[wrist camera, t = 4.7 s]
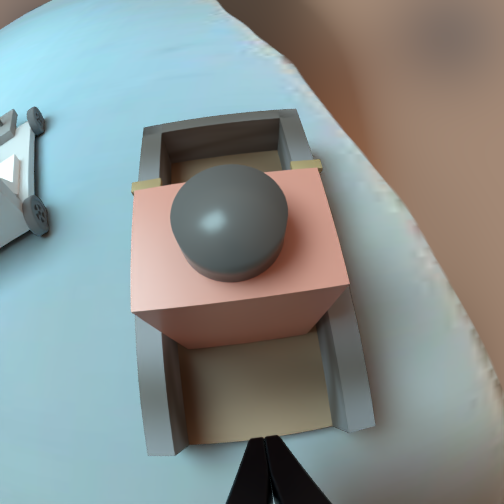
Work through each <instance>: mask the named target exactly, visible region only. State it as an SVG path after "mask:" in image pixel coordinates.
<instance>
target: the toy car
mask: <svg viewBox="0 0 504 504" xmlns="http://www.w3.org/2000/svg"><path fill="white" fill-rule="evenodd" d="M17 116H18V115H17V113H16V112H15V110H14V109H12V110H11V111H9V112H8V113H6V114H5V115H3V116H2V117H0V248H1V247H2V246H4V245H5V244H7V243H9V242H10V241H12V240H14V239H15V238H17V237H18V236H20V235H22V234H23V233H25V232H27V231H29V230H31V231H32V232H33V233H34V234H35V235H37V236H41V235H42V234H44V233H46V232H48V230H49V228H48V223H47V211H46V208H45V206H44V204H43V203H42V201H41V200H40V199H39V198H38V197H37V196H35V195H34V142H35V135H40V134H41V133H43V132H44V119H43V116H42V114H41V112H40V111H39V109H38V108H37V107H33V108H31V109H29V110H28V111H27V120H28V121H27V122H25V123H24V124H22V125H20V126H19V127H17V128H16V122H17Z"/></svg>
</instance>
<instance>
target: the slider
mask: <svg viewBox="0 0 504 504" xmlns="http://www.w3.org/2000/svg"><path fill="white" fill-rule="evenodd" d="M349 284H350V282H349V278H348V274H347V270H346V266H345V262H344V258H343V254H342V251H341V247H340V243H339V239H338V236H337V232H336V228H335V225H334V221H333V218H332V214H331V211H330V207H329V204H328V201H327V197H326V194H325V191H324V187H323V184H322V181H321V178H320V174H319V171H318V168H306V169H294V170H283V171H273V172H262V171H260V170H258V169H255V168H252V167H249V166H245V165H238V164H227V165H219V166H215V167H211V168H208V169H206V170H203V171H201V172H199V173H198V174H196V175H195V176H193V177H192V178H190V179H189V180H188V181H187V182H184V183H178V184H171V185H165V186H159V187H153V188H147V189H141V190H136V191H134V202H133V217H132V238H131V312H132V313H133V314H135V315H136V316H138V317H139V318H141V319H142V320H143V321H145V322H146V323H148V324H149V325H151V326H152V327H154V328H156V329H157V330H159V331H160V332H162V333H163V334H165V335H166V336H168V337H169V338H171V339H173V340H174V341H176V342H177V343H179V344H181V345H182V346H184V347H185V348H187V349H199V348H209V347H218V346H227V345H235V344H243V343H251V342H258V341H266V340H273V339H279V338H286V337H292V336H298V335H304V334H307V333H308V332H309V331H310V330H311V329H312V327H313V326H314V325H315V324H316V323H317V322H318V321H319V320H320V318H321V317H322V316H323V315H324V314H325V313H326V312H327V310H328V309H329V308H330V307H331V306H332V305H333V303H334V302H335V301H336V300H337V299H338V297H339V296H340V295H341V294H342V293H343V292H344V290H345V289H346V288H347V287H348V285H349Z"/></svg>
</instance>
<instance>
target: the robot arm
mask: <svg viewBox="0 0 504 504" xmlns="http://www.w3.org/2000/svg"><path fill="white" fill-rule="evenodd" d="M264 440H265V441H264ZM265 447H266V448H265ZM270 480H271V481H270ZM271 487H272V488H271ZM272 493H273V495H272ZM273 498H274V502H275V504H332V503H331V502H330V501H329V500H328V498H327V497H326V496H325V495H324V493H323V492H322V491H321V490H320V488H319V487H318V486H317V485H316V483H315V482H314V481H313V480H312V478H311V477H310V476H309V475H308V473H307V472H306V471H305V469H304V468H303V467H302V466H301V464H300V463H299V462H298V460H297V459H296V458H295V456H294V455H293V454H292V452H291V451H290V450H289V448H288V447H287V446H286V444H285V443H284V442H283V440H282V439H281V438H280V436H278V435H271V436H266V437H265V438H263V437H257V438H251V439H250V440H249V441H248V444H247V447H246V450H245V453H244V455H243V458H242V461H241V464H240V467H239V469H238V472H237V475H236V478H235V480H234V483H233V486H232V488H231V491H230V494H229V496H228V499H227V501H226V504H273Z"/></svg>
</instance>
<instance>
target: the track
mask: <svg viewBox="0 0 504 504" xmlns="http://www.w3.org/2000/svg"><path fill="white" fill-rule="evenodd" d="M227 164H238V165H245V166H249V167H252V168H255V169H258V170H260V171H262V172H273V171H283V170H294V169H306V168H318V171H319V173H321V172H322V165H321V162H320V159H316V160H314V159H313V156H312V153H311V150H310V147H309V144H308V141H307V138H306V135H305V132H304V130H303V127H302V124H301V121H300V118H299V115H298V113H297V110H296V109H283V110H269V111H256V112H246V113H236V114H227V115H219V116H211V117H204V118H197V119H190V120H184V121H178V122H172V123H166V124H160V125H155V126H150V127H145V128H144V130H143V138H142V147H141V156H140V167H139V178H138V182H134V183H132V190H131V192H132V194H133V196H134V191H136V190H141V189H147V188H153V187H159V186H165V185H171V184H178V183H184V182H187V181H188V180H189V179H190V178H192V177H193V176H195V175H196V174H198V173H199V172H201V171H203V170H206V169H208V168H211V167H215V166H219V165H227ZM135 333H136V352H137V366H138V379H139V390H140V400H141V409H142V417H143V425H144V433H145V440H146V447H147V453H148V456H176V455H177V454H178V453H180V452H181V451H182V450H183V449H185V448H186V447H187V446H188V445H196V444H213V443H226V442H236V441H246V440H250V439H251V438H257V437H263V438H265V437H266V436H271V435H278V436H283V435H289V434H294V433H300V432H305V431H311V430H316V429H320V428H325V427H330V426H334V427H336V428H338V429H341V430H343V431H345V432H348V433H351V432H355V431H359V430H362V429H366V428H370V427H373V426H375V420H374V413H373V406H372V400H371V393H370V387H369V381H368V376H367V370H366V365H365V359H364V354H363V349H362V344H361V339H360V334H359V329H358V324H357V319H356V315H355V310H354V306H353V301H352V297H351V293H350V288H349V285H348V287H347V288H346V289H345V290H344V292H343V293H342V294H341V295H340V296H339V297H338V299H337V300H336V301H335V302H334V303H333V305H332V306H331V307H330V308H329V309H328V310H327V312H326V313H325V314H324V315H323V316H322V317H321V318H320V320H319V321H318V322H317V323H316V324H315V325H314V326H313V327H312V329H311V330H310V331H309V332H308V333H307V334H304V335H298V336H292V337H286V338H279V339H273V340H266V341H258V342H251V343H243V344H235V345H227V346H218V347H209V348H199V349H187V348H185V347H184V346H182V345H181V344H179V343H177V342H176V341H174V340H173V339H171V338H169V337H168V336H166V335H165V334H163V333H162V332H160V331H159V330H157V329H156V328H154V327H152V326H151V325H149V324H148V323H146V322H145V321H143V320H142V319H141V318H139V317H138V316H136V315H135Z"/></svg>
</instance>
